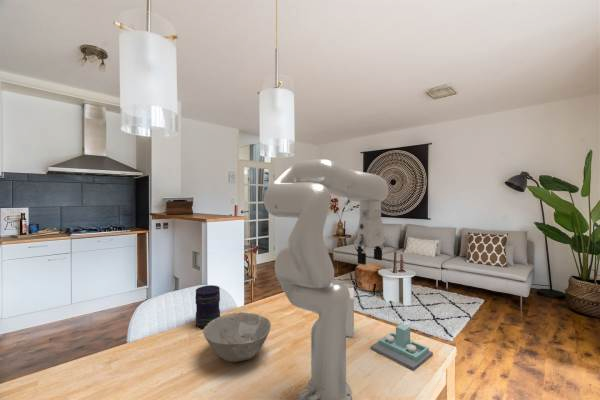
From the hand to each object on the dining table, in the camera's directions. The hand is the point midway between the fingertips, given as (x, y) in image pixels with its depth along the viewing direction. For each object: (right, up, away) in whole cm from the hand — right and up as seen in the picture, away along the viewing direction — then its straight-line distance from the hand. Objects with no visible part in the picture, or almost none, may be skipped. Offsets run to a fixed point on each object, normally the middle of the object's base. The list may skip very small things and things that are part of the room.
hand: (370, 261), depth 101 cm
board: (+10, -30, -5) cm, 32 cm away
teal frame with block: (+11, -29, -4) cm, 31 cm away
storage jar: (-65, -30, +17) cm, 73 cm away
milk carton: (-8, -30, +10) cm, 33 cm away
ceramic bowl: (-47, -31, -6) cm, 56 cm away
